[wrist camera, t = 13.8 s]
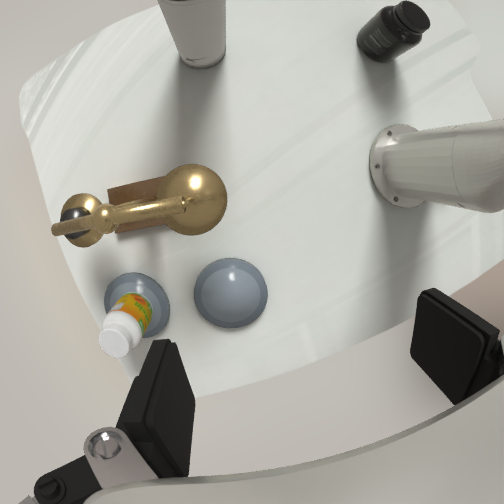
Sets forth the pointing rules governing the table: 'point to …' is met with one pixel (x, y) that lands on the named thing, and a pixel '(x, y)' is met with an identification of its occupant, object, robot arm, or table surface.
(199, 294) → the dish high side
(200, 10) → the travel mug
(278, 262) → the table surface
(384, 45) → the supplement bottle
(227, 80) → the table surface
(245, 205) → the table surface
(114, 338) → the supplement bottle
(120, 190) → the balance
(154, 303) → the dish low side
